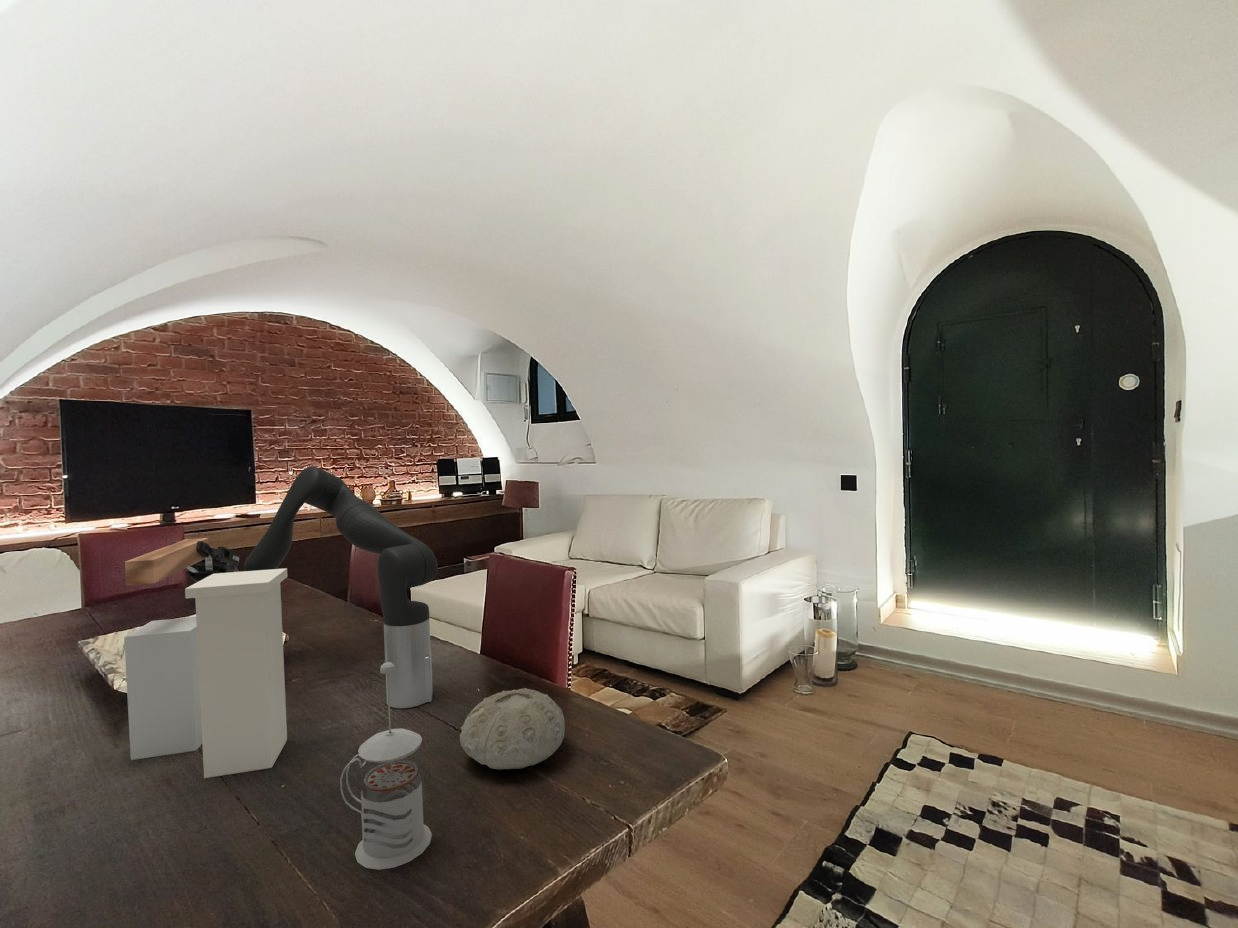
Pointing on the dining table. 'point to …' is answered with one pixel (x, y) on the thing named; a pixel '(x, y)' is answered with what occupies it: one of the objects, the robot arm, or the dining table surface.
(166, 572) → the terracotta bar
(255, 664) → the cream stand
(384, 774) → the french press
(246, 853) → the dining table surface
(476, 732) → the decorative shell
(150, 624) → the grey block
